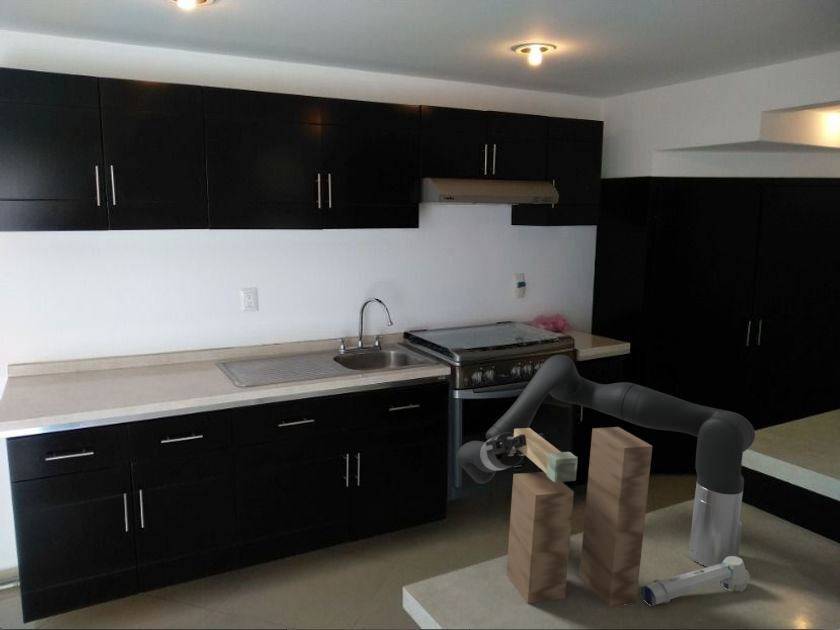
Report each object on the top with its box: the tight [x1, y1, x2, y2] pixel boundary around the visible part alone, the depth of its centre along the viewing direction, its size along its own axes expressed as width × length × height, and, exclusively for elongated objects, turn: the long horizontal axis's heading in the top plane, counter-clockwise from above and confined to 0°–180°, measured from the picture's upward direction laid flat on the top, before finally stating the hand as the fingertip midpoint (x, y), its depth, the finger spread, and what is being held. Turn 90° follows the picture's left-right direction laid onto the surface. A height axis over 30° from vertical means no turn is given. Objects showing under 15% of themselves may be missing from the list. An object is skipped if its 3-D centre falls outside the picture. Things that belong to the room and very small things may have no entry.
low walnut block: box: [505, 471, 575, 604], centre depth 124 cm, size 8×10×22 cm
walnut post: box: [578, 426, 653, 608], centre depth 124 cm, size 6×11×32 cm, turn 16°
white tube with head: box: [639, 556, 751, 607], centre depth 126 cm, size 5×7×25 cm
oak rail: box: [514, 427, 578, 483], centre depth 123 cm, size 4×19×4 cm, turn 16°
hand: (533, 438), depth 127 cm, fingers closed on oak rail, 3 cm apart
